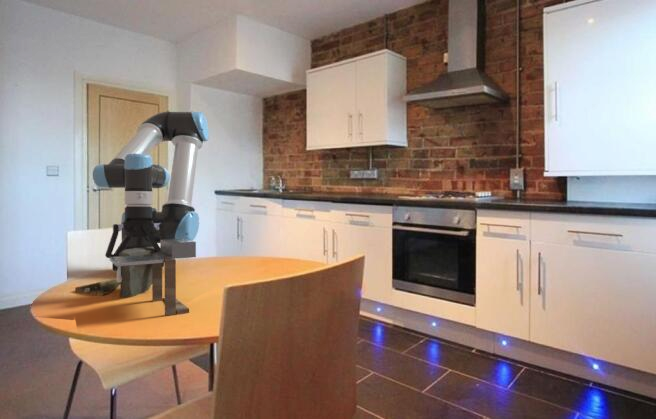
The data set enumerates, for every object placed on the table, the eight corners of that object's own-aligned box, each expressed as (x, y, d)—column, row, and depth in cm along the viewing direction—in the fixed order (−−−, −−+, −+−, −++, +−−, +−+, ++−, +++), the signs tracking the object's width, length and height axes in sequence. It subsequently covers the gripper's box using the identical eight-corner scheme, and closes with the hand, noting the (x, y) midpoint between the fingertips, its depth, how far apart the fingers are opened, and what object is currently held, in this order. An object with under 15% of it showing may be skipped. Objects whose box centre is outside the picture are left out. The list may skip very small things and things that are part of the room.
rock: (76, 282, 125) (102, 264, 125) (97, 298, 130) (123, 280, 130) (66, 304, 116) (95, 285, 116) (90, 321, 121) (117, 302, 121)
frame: (152, 302, 114) (152, 253, 114) (173, 300, 117) (173, 252, 117) (165, 316, 100) (165, 260, 100) (189, 312, 104) (188, 258, 103)
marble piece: (129, 253, 112) (116, 250, 113) (122, 304, 113) (109, 301, 114) (164, 245, 128) (152, 242, 129) (157, 290, 130) (146, 287, 130)
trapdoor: (109, 260, 106) (109, 241, 106) (182, 255, 117) (182, 238, 117) (116, 266, 95) (116, 246, 95) (195, 260, 106) (195, 241, 106)
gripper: (96, 205, 111) (96, 285, 111) (181, 205, 124) (181, 277, 124) (93, 205, 117) (94, 281, 118) (175, 205, 130) (175, 274, 130)
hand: (139, 279), depth 121 cm, fingers closed on marble piece, 10 cm apart
